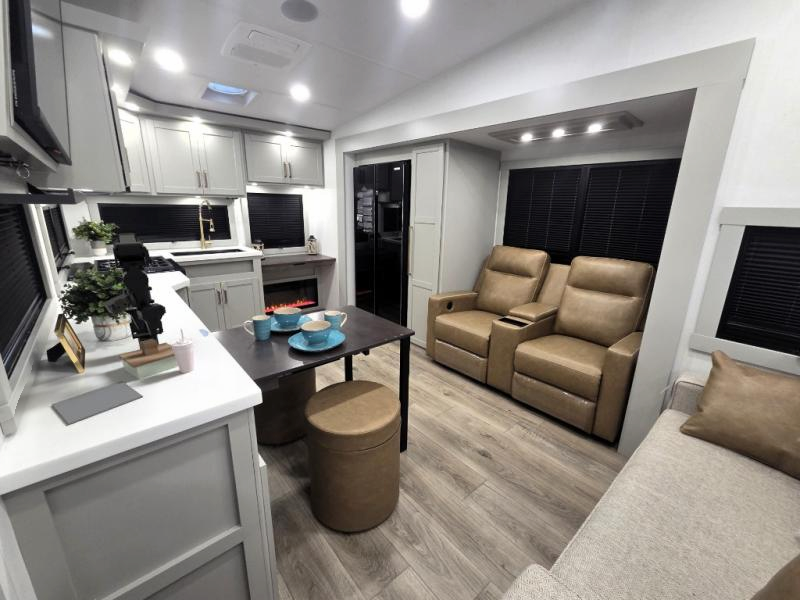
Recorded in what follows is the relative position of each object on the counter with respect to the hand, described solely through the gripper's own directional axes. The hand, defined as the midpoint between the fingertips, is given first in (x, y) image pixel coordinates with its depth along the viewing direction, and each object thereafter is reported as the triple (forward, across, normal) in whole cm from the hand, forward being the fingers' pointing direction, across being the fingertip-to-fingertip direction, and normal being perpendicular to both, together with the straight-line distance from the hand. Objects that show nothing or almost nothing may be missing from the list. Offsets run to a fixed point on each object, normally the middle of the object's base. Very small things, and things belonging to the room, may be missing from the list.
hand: (146, 332), depth 107 cm
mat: (+12, +11, -17) cm, 24 cm away
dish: (+12, 0, 0) cm, 12 cm away
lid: (+8, 0, 0) cm, 8 cm away
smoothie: (+12, +12, +5) cm, 17 cm away
